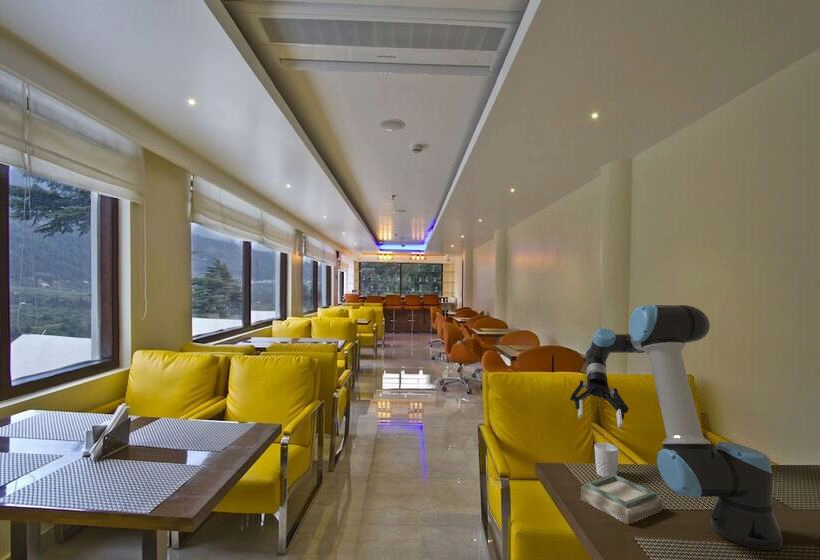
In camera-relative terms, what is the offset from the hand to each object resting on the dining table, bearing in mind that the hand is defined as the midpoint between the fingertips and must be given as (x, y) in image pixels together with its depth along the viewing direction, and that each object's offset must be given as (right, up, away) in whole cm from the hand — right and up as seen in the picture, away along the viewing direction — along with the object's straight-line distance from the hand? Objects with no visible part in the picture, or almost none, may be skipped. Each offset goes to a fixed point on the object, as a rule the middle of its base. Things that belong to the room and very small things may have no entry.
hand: (600, 421), depth 145 cm
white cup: (+2, -19, -1) cm, 20 cm away
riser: (-4, -18, -22) cm, 29 cm away
